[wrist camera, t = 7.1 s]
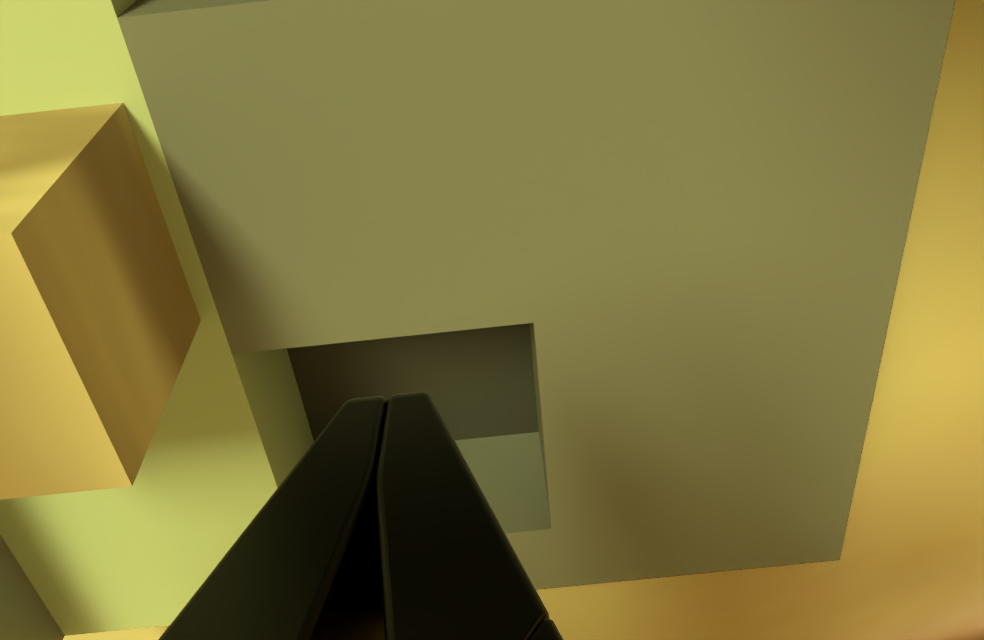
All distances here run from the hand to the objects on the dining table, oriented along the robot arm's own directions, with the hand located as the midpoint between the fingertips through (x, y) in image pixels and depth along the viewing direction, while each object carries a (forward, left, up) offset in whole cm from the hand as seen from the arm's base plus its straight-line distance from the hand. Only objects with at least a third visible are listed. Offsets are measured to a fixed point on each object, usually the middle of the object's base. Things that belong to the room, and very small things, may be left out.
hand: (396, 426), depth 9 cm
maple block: (+6, 0, -6) cm, 8 cm away
